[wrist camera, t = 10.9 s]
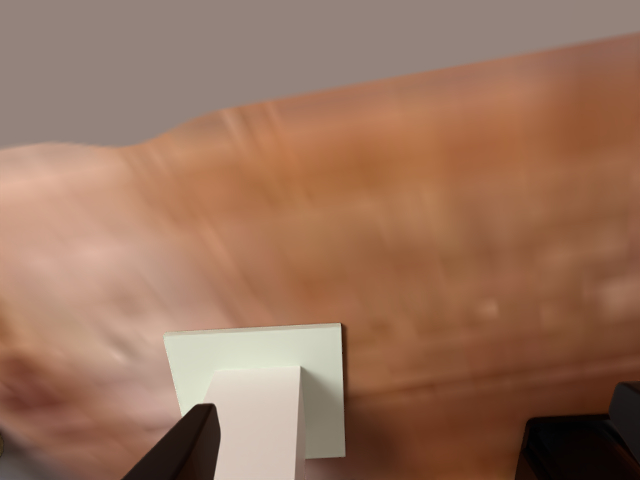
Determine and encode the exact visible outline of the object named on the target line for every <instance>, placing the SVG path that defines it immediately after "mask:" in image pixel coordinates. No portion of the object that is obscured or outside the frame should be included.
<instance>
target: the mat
mask: <svg viewBox="0 0 640 480" xmlns="http://www.w3.org/2000/svg"><path fill="white" fill-rule="evenodd" d="M163 339H164V343H165V347H166V352H167V356H168V360H169V364H170V368H171V372H172V377H173V381H174V385H175V389H176V393H177V397H178V401H179V406H180V410H181V414H182V417H183V416H184V415H185V414H186V413H187V412H188V411H189V410H190V409H191V408H192V407H193V406H194V405H196V404H200V403H203V400H204V398H205V395H206V393H207V390H208V387H209V385H210V382H211V380H212V377H213V374H214V372H215V370H232V369H250V368H268V367H286V366H300V367H301V379H302V390H303V401H304V413H305V424H306V453H305V459H310V458H329V457H345V430H344V401H343V371H342V341H341V323H329V324H310V325H291V326H272V327H253V328H234V329H215V330H196V331H177V332H165V334H164V335H163Z"/></svg>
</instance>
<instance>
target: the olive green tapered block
mask: <svg viewBox="0 0 640 480" xmlns="http://www.w3.org/2000/svg"><path fill="white" fill-rule="evenodd" d="M2 453H3V440H2V437H1V435H0V457H1V455H2Z"/></svg>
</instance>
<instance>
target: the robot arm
mask: <svg viewBox="0 0 640 480" xmlns="http://www.w3.org/2000/svg"><path fill="white" fill-rule="evenodd" d="M220 441H221V429H220V424H219V419H218V413H217V408H216V406H215V404H214V403H200V404H196V405H194V406H193V407H192V408H191V409H190V410H189V411H188V412H187V413H186V414H185V415H184V416H183V417H182V418H181V419H180V420H179V421H178V422H177V423H176V424H175V425H174V426H173V427H172V428H171V429H170V430H169V431H168V432H167V433H166V435H165V436H164V437H163V438H162V439H161V440H160V441H159V442H158V443H157V444H156V445H155V446H154V447H153V448H152V449H151V450H150V451H149V452H148V453H147V454H146V455H145V456H144V457H143V458H142V459H141V460H140V461H139V462H138V463H137V464H136V465H135V466H134V467H133V468H132V469H131V470H130V471H129V472H128V473H127V474H126V475H125V476H124V477H123V478H122V479H121V480H214V476H215V470H216V464H217V459H218V453H219V447H220ZM515 480H640V381H626V382H619V383H618V384H617V385H616V387H615V390H614V393H613V396H612V400H611V403H610V406H609V414H606V415H587V416H568V417H549V418H534V419H531V420H529V421H528V422H527V423H526V427H525V432H524V437H523V442H522V447H521V451H520V455H519V460H518V465H517V470H516V475H515Z"/></svg>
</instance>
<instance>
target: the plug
mask: <svg viewBox="0 0 640 480" xmlns="http://www.w3.org/2000/svg"><path fill="white" fill-rule="evenodd" d="M203 403H214V404H215V406H216V408H217V413H218V419H219V424H220V429H221V441H220V447H219V453H218V459H217V464H216V470H215V476H214V480H305V453H306V424H305V413H304V401H303V390H302V379H301V367H300V366H286V367H268V368H250V369H232V370H215V372H214V374H213V377H212V380H211V382H210V385H209V387H208V390H207V393H206V395H205V398H204V400H203Z"/></svg>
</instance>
